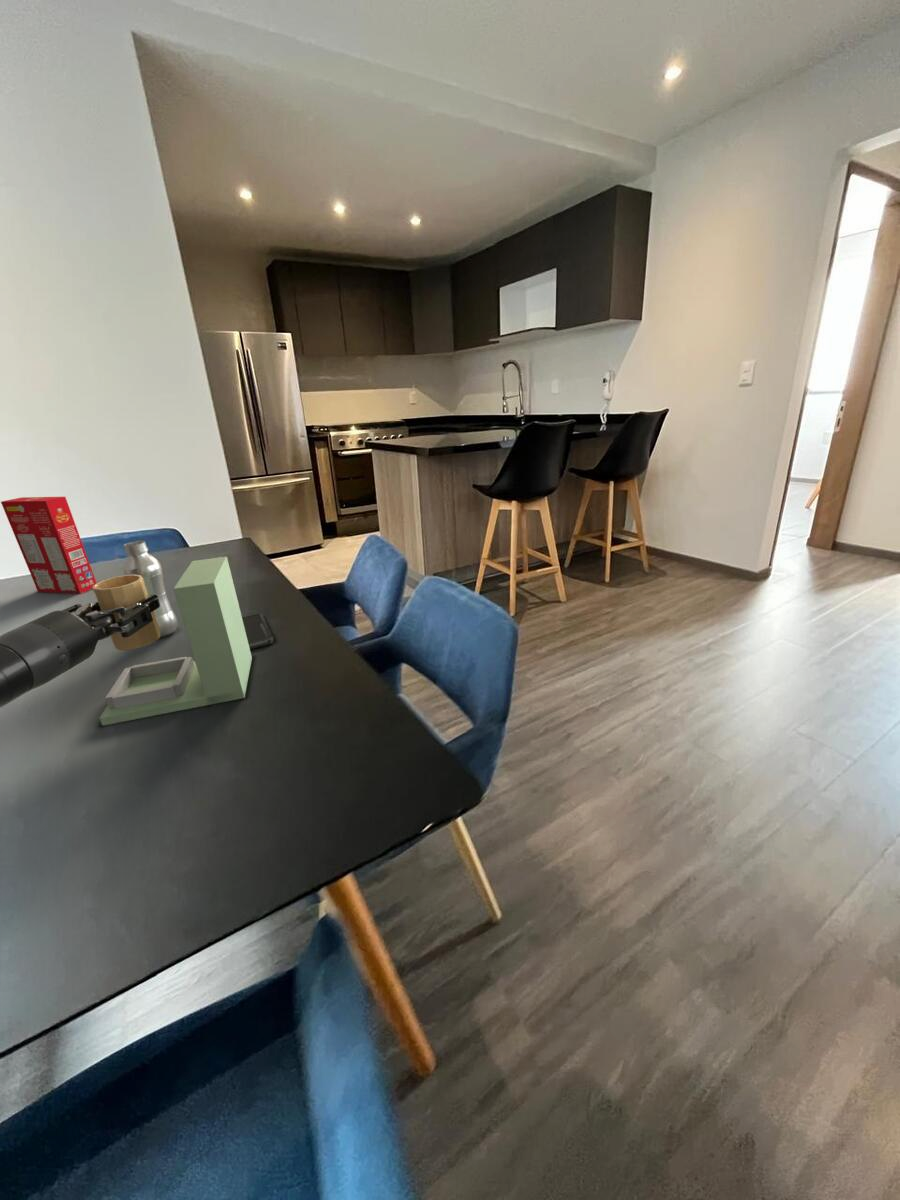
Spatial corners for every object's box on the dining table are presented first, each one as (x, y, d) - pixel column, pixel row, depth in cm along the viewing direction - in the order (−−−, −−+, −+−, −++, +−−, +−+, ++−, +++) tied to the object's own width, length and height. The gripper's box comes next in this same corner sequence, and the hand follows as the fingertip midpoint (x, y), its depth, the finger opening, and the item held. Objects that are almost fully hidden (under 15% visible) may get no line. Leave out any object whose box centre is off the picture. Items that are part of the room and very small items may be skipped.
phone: (231, 649, 93) (223, 621, 105) (232, 654, 94) (224, 626, 106) (273, 638, 96) (261, 612, 109) (275, 643, 97) (262, 617, 109)
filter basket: (108, 653, 74) (85, 592, 70) (122, 635, 80) (101, 578, 76) (154, 646, 76) (134, 585, 72) (165, 628, 82) (147, 572, 78)
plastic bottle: (139, 637, 104) (108, 546, 96) (171, 624, 109) (144, 537, 101) (154, 644, 100) (123, 550, 92) (186, 631, 105) (159, 540, 97)
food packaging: (97, 586, 136) (65, 496, 127) (80, 593, 132) (45, 500, 122) (56, 585, 140) (21, 497, 130) (38, 592, 135) (0, 501, 126)
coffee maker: (102, 726, 75) (53, 605, 67) (130, 679, 87) (92, 574, 79) (244, 698, 79) (214, 582, 72) (252, 658, 92) (226, 556, 84)
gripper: (78, 624, 60) (170, 577, 75) (-19, 623, 62) (90, 578, 78) (99, 677, 63) (184, 621, 78) (6, 674, 65) (105, 621, 80)
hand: (137, 600), depth 78 cm, fingers closed on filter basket, 6 cm apart
